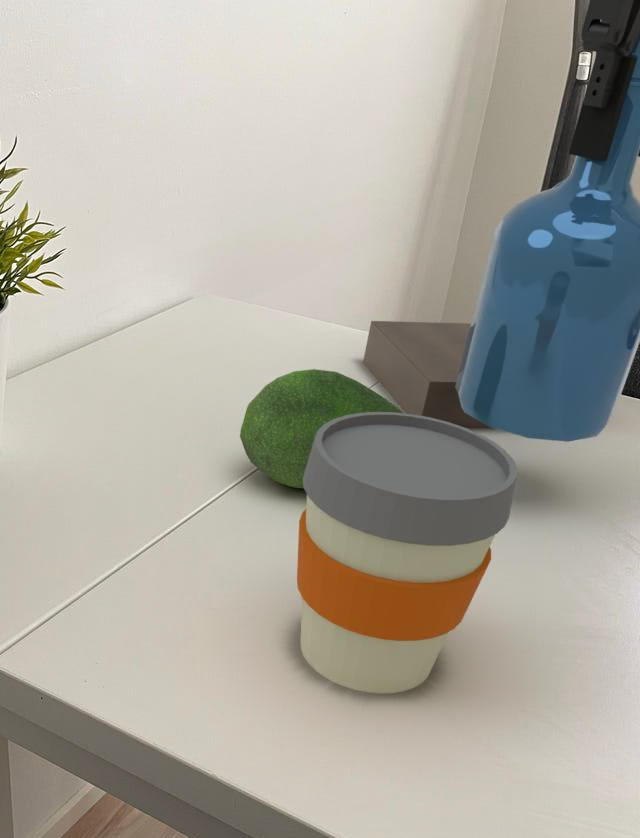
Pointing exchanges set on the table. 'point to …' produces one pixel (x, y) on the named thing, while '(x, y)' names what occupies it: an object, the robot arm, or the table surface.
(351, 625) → the reusable coffee cup
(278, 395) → the fruit
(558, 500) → the table surface
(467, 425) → the walnut block
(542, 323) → the wine bottle
